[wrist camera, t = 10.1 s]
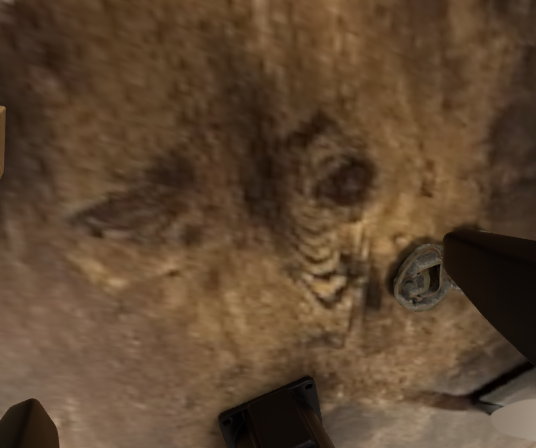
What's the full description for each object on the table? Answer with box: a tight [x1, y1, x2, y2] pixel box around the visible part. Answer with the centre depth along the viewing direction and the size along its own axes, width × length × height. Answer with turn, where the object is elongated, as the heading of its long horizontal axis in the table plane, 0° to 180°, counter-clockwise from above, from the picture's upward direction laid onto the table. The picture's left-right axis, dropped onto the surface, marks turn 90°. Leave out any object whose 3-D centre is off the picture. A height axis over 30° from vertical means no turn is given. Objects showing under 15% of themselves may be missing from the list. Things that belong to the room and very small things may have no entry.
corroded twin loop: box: [393, 230, 491, 312], centre depth 27 cm, size 5×8×1 cm, turn 99°
